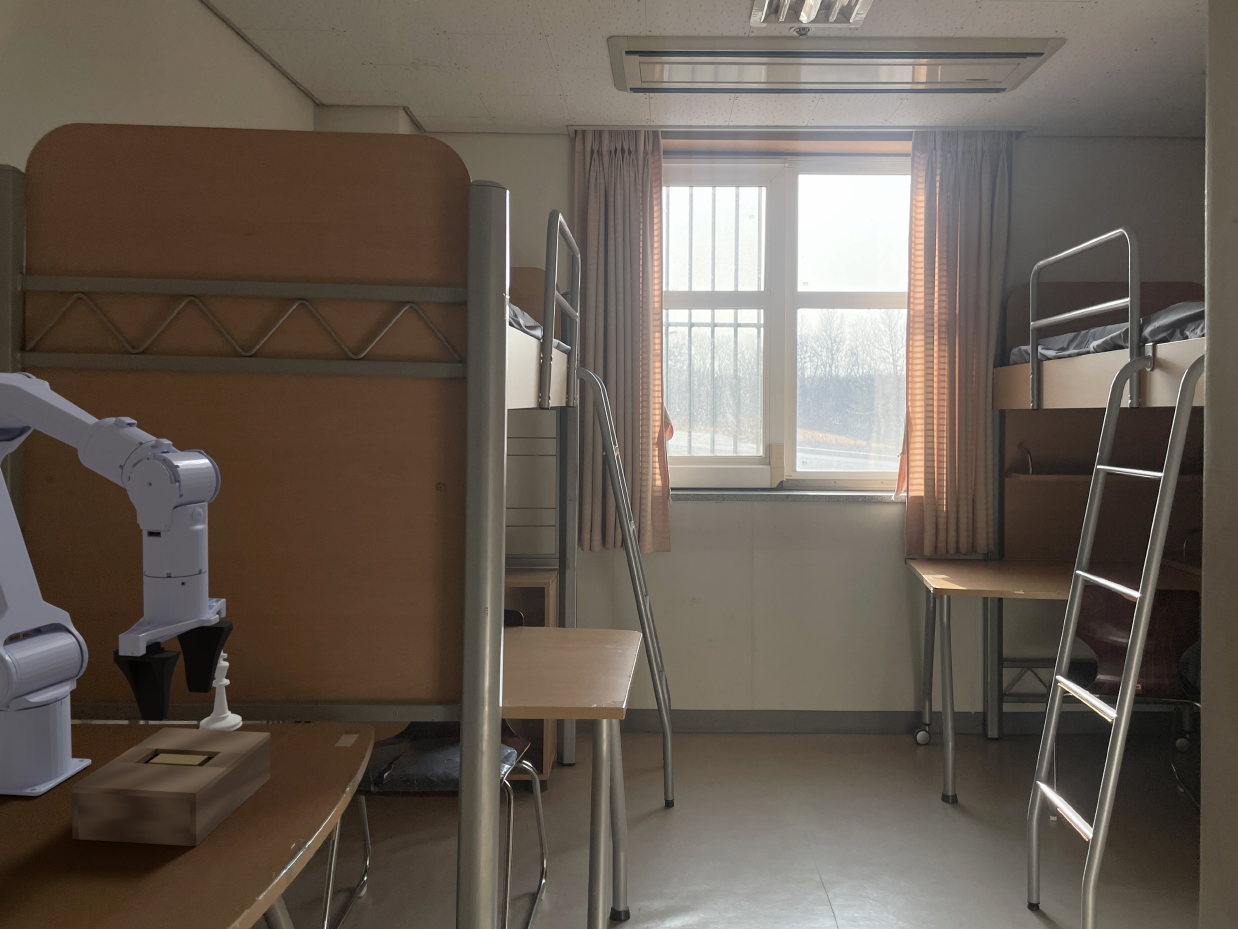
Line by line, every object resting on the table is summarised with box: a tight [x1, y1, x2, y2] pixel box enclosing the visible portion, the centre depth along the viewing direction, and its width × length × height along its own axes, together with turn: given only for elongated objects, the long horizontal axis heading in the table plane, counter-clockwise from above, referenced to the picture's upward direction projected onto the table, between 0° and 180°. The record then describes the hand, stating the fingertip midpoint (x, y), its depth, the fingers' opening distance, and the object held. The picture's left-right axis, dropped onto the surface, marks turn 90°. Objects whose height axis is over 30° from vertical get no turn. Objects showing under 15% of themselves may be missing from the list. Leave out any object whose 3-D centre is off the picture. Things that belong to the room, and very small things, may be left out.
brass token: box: [149, 754, 208, 767], centre depth 83 cm, size 5×2×5 cm, turn 87°
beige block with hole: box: [70, 727, 271, 847], centre depth 83 cm, size 12×14×5 cm
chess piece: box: [198, 648, 243, 731], centre depth 103 cm, size 5×5×10 cm
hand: (177, 704), depth 83 cm, fingers open, 7 cm apart
